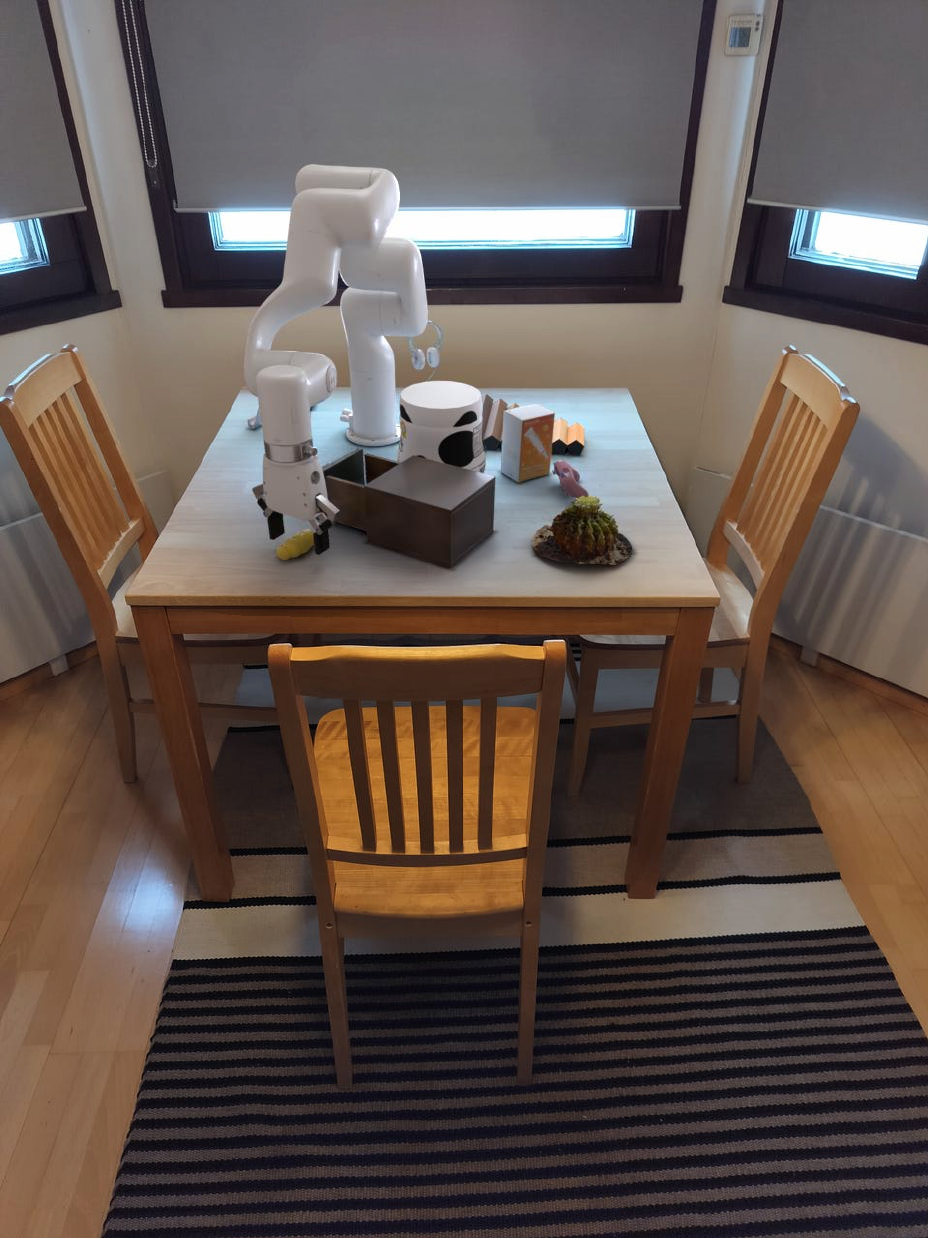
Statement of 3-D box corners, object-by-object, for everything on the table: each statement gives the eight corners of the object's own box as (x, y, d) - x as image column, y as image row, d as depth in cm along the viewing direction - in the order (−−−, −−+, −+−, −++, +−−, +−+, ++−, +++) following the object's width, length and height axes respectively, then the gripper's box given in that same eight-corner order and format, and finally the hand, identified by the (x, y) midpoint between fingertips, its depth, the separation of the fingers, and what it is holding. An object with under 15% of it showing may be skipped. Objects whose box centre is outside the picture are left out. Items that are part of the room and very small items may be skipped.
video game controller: (559, 487, 166) (546, 458, 162) (580, 477, 165) (567, 448, 161) (569, 510, 158) (555, 480, 154) (591, 499, 157) (577, 469, 153)
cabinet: (367, 542, 144) (364, 485, 137) (414, 509, 154) (412, 455, 148) (450, 569, 137) (450, 510, 131) (493, 532, 147) (495, 476, 141)
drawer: (291, 512, 151) (286, 466, 146) (337, 484, 160) (333, 441, 155) (387, 542, 142) (385, 494, 137) (429, 511, 152) (429, 465, 147)
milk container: (386, 471, 168) (383, 383, 157) (467, 460, 173) (468, 374, 162) (411, 508, 154) (409, 415, 144) (498, 495, 159) (501, 404, 149)
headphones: (437, 401, 201) (437, 316, 190) (445, 406, 198) (445, 320, 187) (407, 407, 198) (405, 321, 186) (415, 412, 195) (413, 325, 183)
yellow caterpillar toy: (292, 566, 137) (290, 548, 135) (274, 560, 138) (271, 542, 136) (325, 544, 143) (323, 526, 141) (307, 538, 145) (305, 521, 143)
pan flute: (478, 407, 198) (466, 448, 178) (478, 393, 196) (466, 433, 176) (583, 412, 196) (583, 455, 176) (584, 398, 194) (584, 440, 174)
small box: (518, 483, 164) (522, 420, 156) (499, 472, 168) (502, 409, 161) (550, 474, 168) (555, 412, 160) (531, 463, 172) (535, 402, 164)
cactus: (623, 525, 150) (629, 476, 144) (640, 571, 137) (648, 519, 131) (527, 525, 149) (531, 475, 144) (536, 571, 136) (540, 518, 131)
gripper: (348, 451, 129) (354, 547, 139) (263, 429, 136) (275, 522, 146) (317, 468, 124) (326, 567, 133) (230, 444, 131) (245, 540, 140)
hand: (299, 543), depth 139 cm, fingers open, 9 cm apart
